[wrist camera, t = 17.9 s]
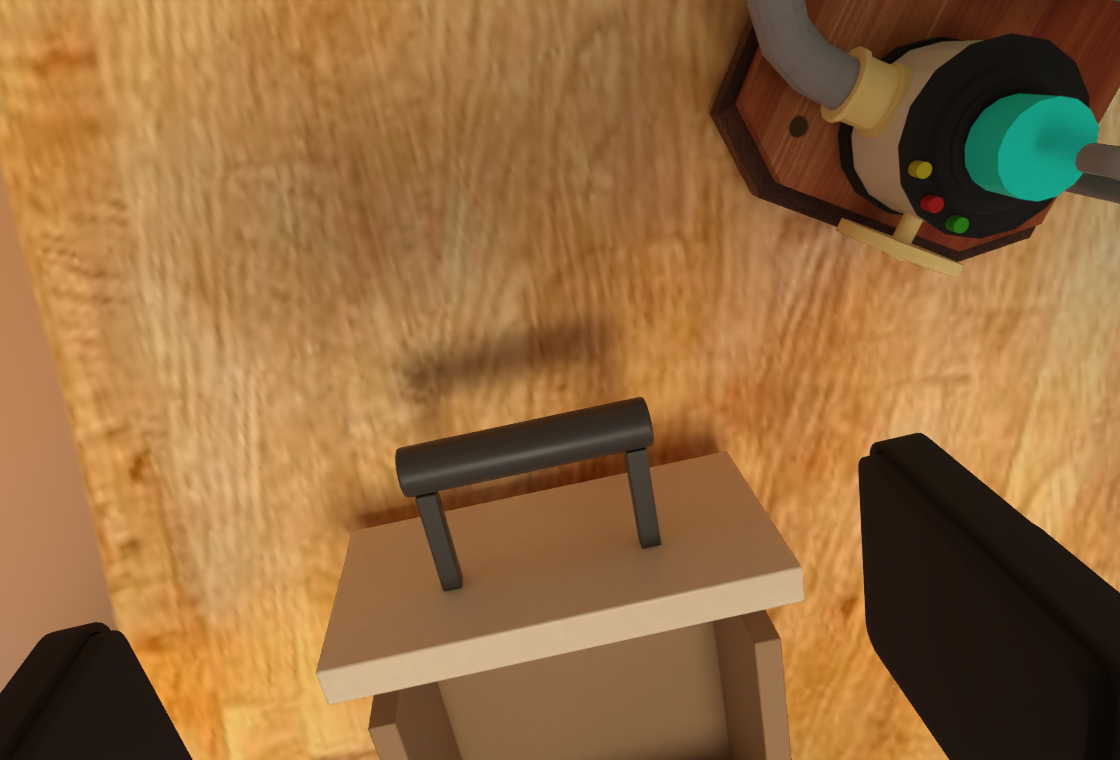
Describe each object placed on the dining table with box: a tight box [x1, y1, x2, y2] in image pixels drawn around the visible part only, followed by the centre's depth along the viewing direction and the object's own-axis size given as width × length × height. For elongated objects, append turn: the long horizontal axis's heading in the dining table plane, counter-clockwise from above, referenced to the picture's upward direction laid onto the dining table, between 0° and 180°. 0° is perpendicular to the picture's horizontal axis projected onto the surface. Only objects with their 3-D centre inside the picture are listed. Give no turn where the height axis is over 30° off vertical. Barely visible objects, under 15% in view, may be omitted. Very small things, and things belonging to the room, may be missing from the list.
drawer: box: [316, 397, 804, 760], centre depth 26 cm, size 20×13×7 cm, turn 10°
